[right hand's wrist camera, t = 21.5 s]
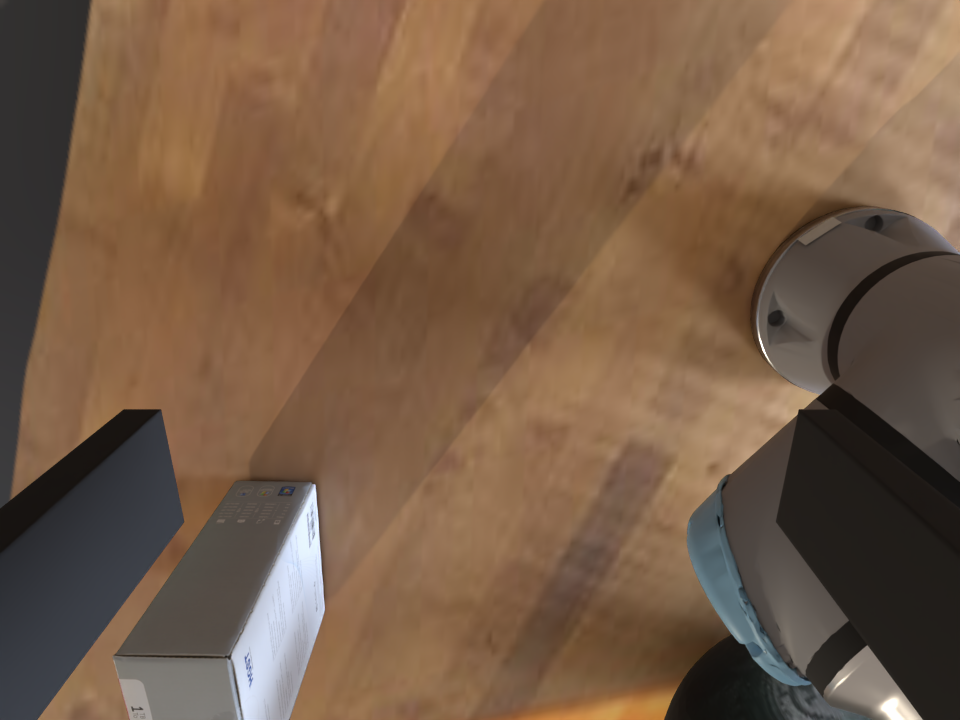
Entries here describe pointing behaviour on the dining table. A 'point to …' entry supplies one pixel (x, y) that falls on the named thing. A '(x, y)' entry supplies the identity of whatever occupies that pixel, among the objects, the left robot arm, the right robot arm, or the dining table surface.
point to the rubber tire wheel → (745, 691)
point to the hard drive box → (232, 614)
